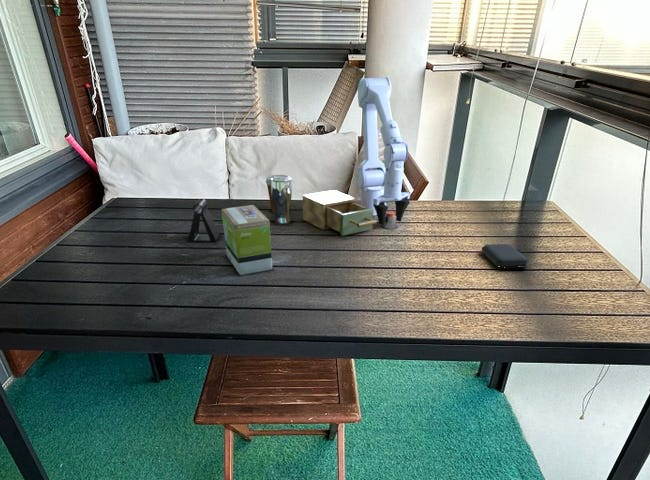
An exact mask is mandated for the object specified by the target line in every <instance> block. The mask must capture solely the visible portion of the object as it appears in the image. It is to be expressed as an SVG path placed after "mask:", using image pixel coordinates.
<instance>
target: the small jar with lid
mask: <svg viewBox="0 0 650 480" xmlns="http://www.w3.org/2000/svg"><path fill="white" fill-rule="evenodd" d="M396 217H397V215H396V211H393V210H389V211H388V210H387V212H386V215H385V223H384V225H382V226H383V228H385V229H387V230H388V229H389V230H392V229H395V228H396V227H397V220H396Z"/></svg>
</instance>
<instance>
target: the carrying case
mask: <svg viewBox="0 0 650 480" xmlns="http://www.w3.org/2000/svg"><path fill="white" fill-rule="evenodd" d="M481 252H482V253H483V255H484V256H485V257H486V258H487V259H488V260H489V261H490V262H491V263H492V265H494V266H495V267H496V268H498V269H500V270H513V269H514V270H517V269H525V268H526V267H527V265H528V266H529V264H530V262H529V259H528V258H526V257H525V256H524V255H523V254H522V253H521V252H520V249H518V248H516V247H514V246H512V245H511V244H509V243H489V244H488V243H487V244H484V246H482V247H481ZM495 264H496V265H497V266H496V265H495ZM498 266H500V267H498ZM518 266H526V267H518ZM504 267H505V268H504Z"/></svg>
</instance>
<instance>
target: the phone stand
mask: <svg viewBox="0 0 650 480" xmlns="http://www.w3.org/2000/svg"><path fill="white" fill-rule="evenodd" d="M192 211H193V217H192V222H191V225H190V231H189V236H188V240H187V241H188V242H196V243H197V242H198V243H200V242H203V243H204V242H205V243H211V242H212V243H216V242H217V240H218V238H219V237H220V232H219V229H218V228H217V226H216V224H215V221H214V220H213V217H212V214H211V213H210V211H209V208H208V203H207V200H206V199H204V198H202V200H201V198H199V199H198V200H197V201H196V202H195V203H194V205H193V206H192ZM201 220H202V223H203V225H204V228H205V231H206V232H207V233H199V231H200V223H201Z"/></svg>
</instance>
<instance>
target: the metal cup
mask: <svg viewBox="0 0 650 480" xmlns="http://www.w3.org/2000/svg"><path fill="white" fill-rule="evenodd" d="M278 176H285V177H290V176H289V175H286V174H272V175H268V176H267V177H266V180H265V183H266V187H267V191H268V197H269V203H270V209H271V211H272V212H273V213H275V209H274V204H273V200H272V192H271V182H272V178H273V177H278Z"/></svg>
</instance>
